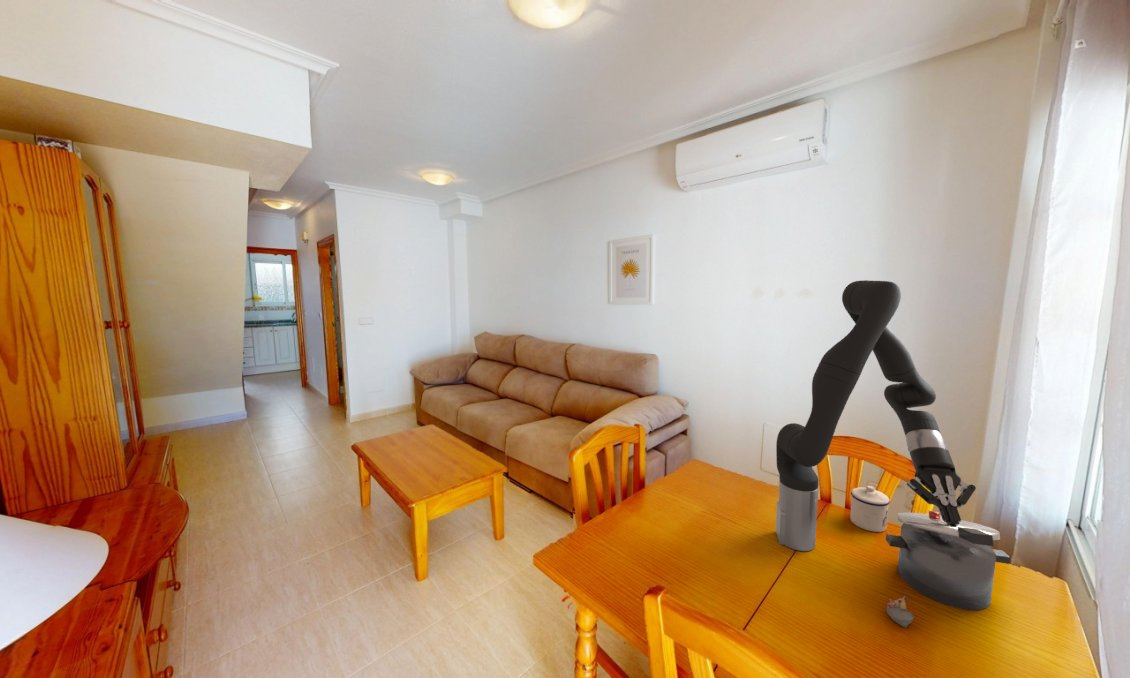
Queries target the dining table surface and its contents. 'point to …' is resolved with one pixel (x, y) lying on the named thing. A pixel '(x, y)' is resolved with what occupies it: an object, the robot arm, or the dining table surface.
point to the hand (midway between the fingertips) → (953, 524)
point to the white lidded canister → (869, 509)
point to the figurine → (900, 612)
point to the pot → (947, 567)
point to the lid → (951, 527)
